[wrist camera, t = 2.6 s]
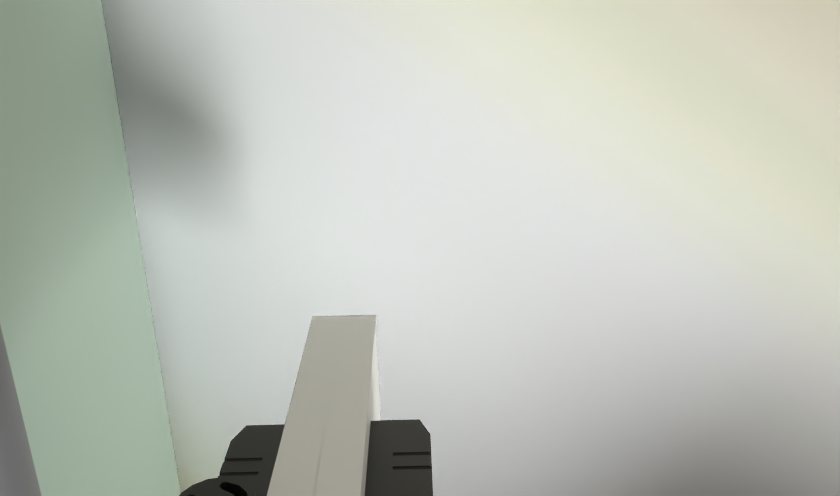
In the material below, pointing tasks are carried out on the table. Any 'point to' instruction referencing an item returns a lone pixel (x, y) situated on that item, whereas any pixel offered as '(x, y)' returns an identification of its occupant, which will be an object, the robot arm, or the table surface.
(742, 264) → the table surface
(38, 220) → the pale green flat panel
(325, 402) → the robot arm
